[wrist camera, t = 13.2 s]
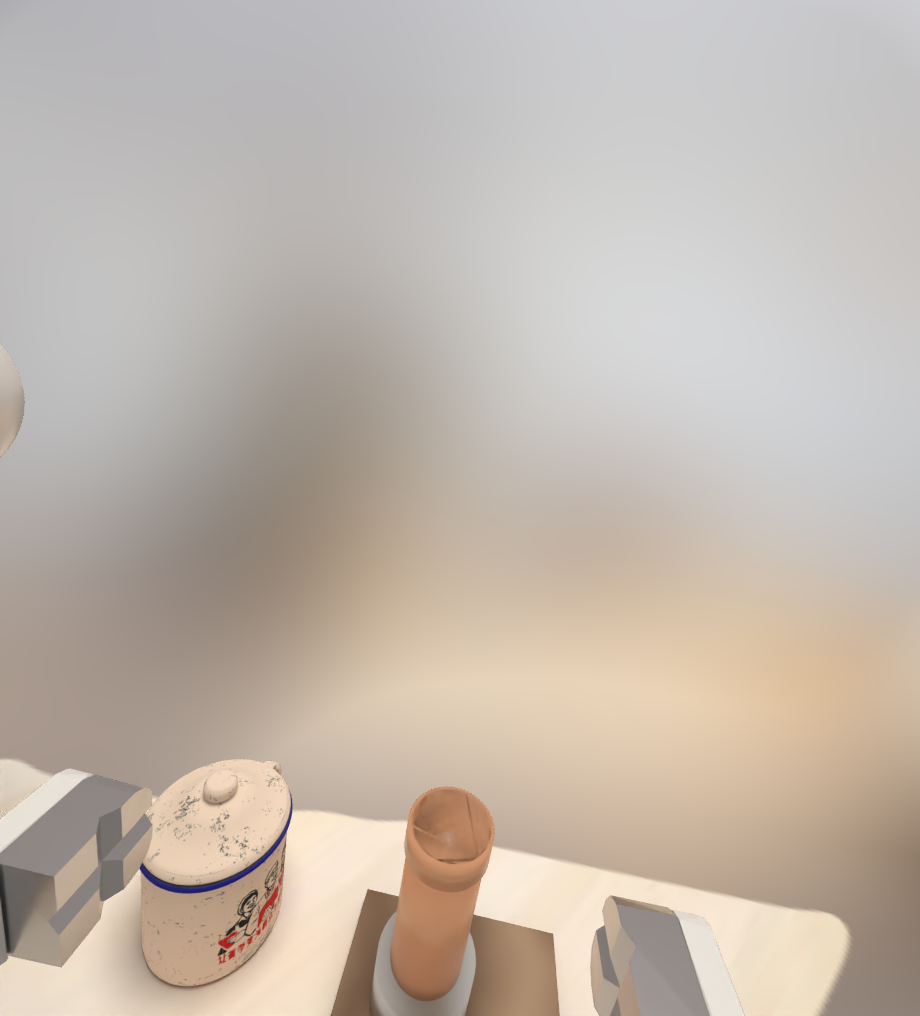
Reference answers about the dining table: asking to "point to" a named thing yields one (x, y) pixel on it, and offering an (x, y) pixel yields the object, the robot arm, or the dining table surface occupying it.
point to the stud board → (495, 971)
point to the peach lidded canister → (439, 889)
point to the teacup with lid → (214, 869)
